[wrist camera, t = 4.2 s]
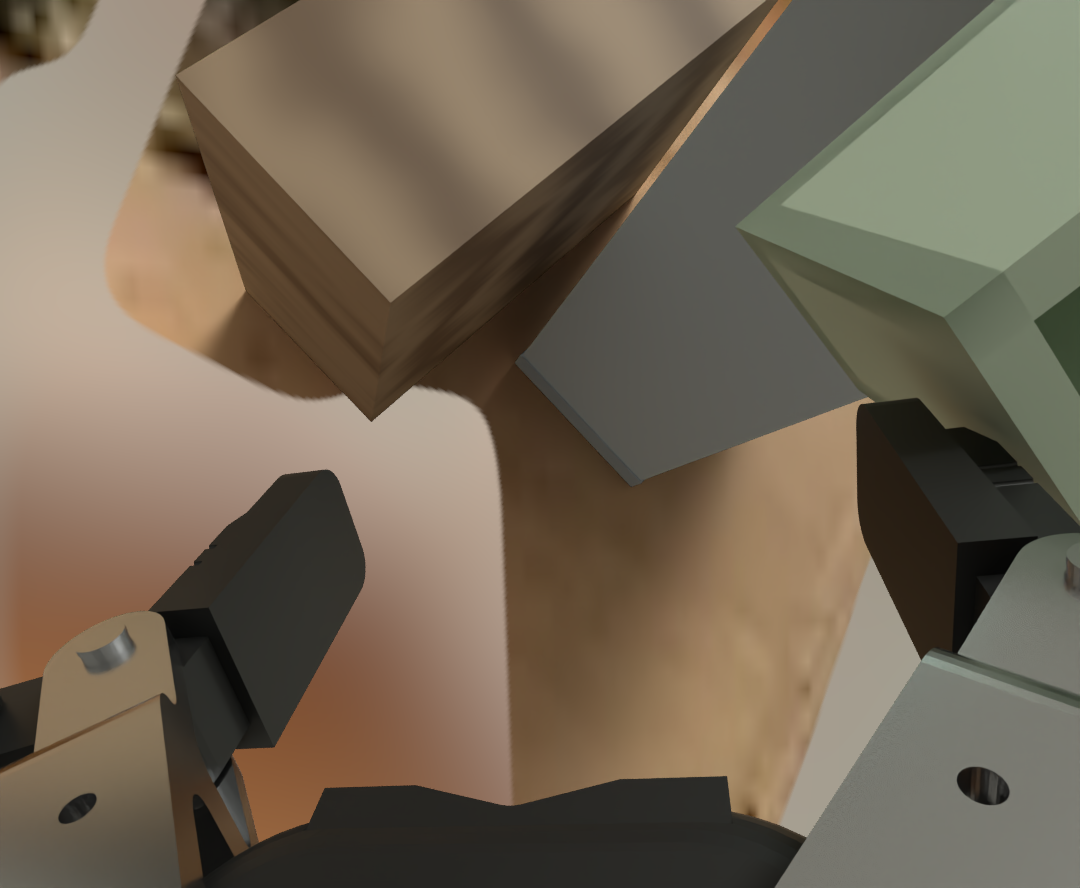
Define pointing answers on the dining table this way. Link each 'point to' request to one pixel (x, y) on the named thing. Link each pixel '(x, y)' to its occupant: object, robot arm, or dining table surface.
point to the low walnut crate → (437, 156)
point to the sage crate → (955, 239)
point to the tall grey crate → (726, 253)
